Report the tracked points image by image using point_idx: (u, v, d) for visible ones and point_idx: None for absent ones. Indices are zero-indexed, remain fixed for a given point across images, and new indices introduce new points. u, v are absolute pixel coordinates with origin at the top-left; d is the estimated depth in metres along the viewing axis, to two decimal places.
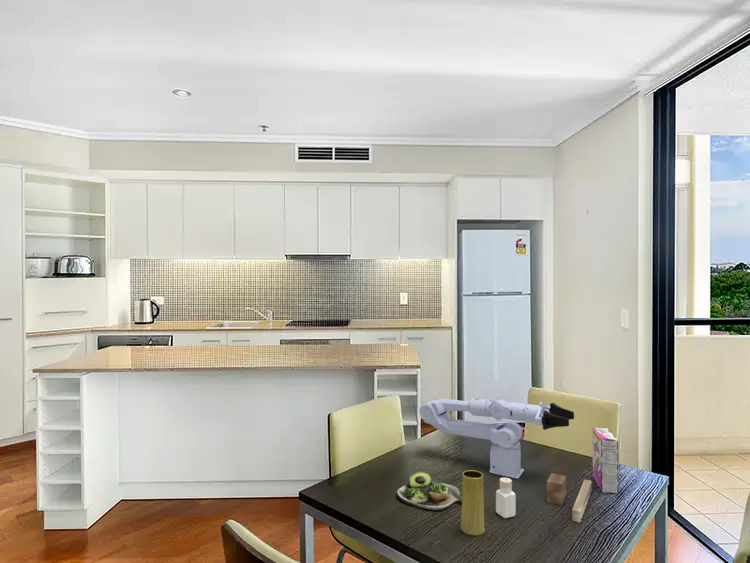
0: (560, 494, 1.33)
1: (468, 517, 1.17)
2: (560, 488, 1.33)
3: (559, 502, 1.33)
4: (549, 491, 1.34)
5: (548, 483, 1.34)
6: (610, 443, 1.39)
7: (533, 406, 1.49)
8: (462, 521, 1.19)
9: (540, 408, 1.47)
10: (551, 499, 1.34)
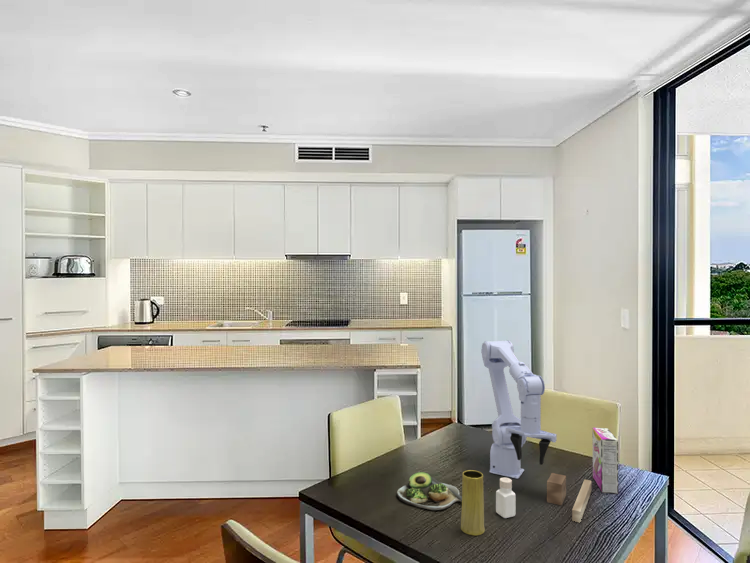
0: (560, 494, 1.33)
1: (468, 517, 1.17)
2: (560, 488, 1.33)
3: (559, 502, 1.33)
4: (549, 491, 1.34)
5: (548, 483, 1.34)
6: (610, 443, 1.39)
7: (525, 426, 1.38)
8: (462, 521, 1.19)
9: (522, 433, 1.39)
10: (551, 499, 1.34)
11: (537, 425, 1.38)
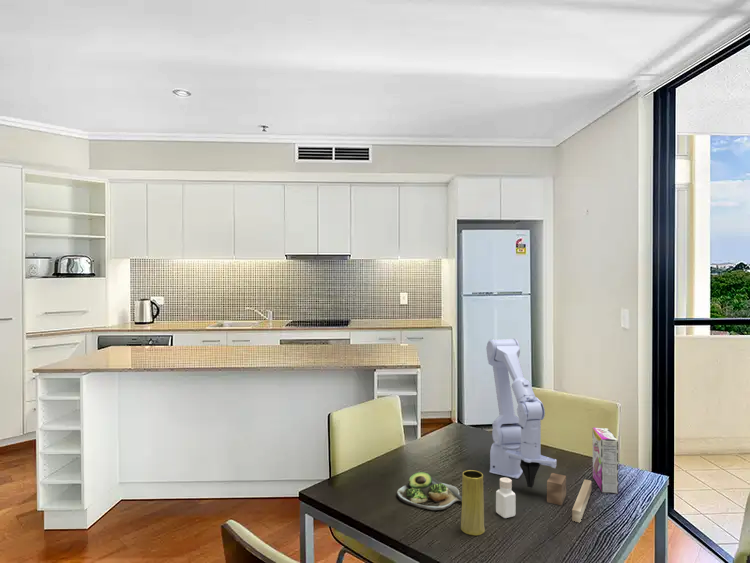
0: (560, 494, 1.33)
1: (468, 517, 1.17)
2: (560, 488, 1.33)
3: (559, 502, 1.33)
4: (549, 491, 1.34)
5: (548, 483, 1.34)
6: (610, 443, 1.39)
7: (525, 451, 1.39)
8: (462, 521, 1.19)
9: (522, 458, 1.39)
10: (551, 499, 1.34)
11: (537, 450, 1.38)
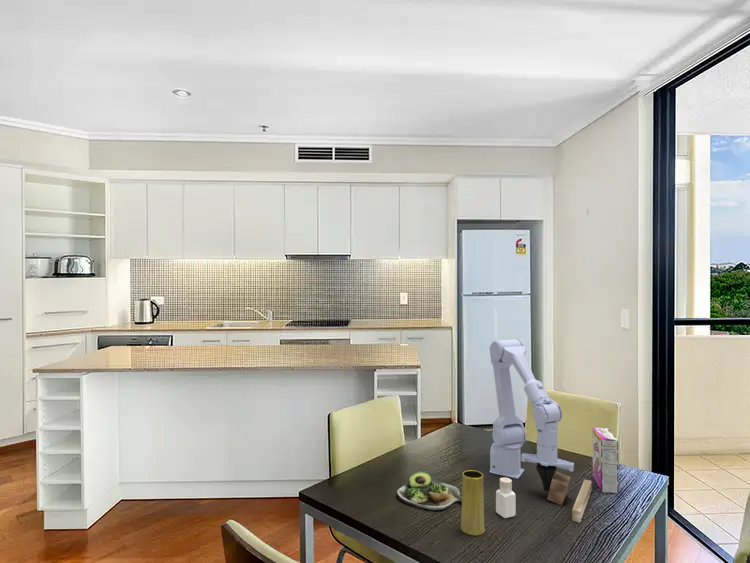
0: (562, 494, 1.32)
1: (468, 517, 1.17)
2: (564, 489, 1.32)
3: (559, 502, 1.33)
4: (552, 490, 1.34)
5: (552, 482, 1.34)
6: (610, 443, 1.39)
7: (541, 454, 1.36)
8: (462, 521, 1.19)
9: (538, 461, 1.37)
10: (552, 497, 1.34)
11: (554, 453, 1.35)
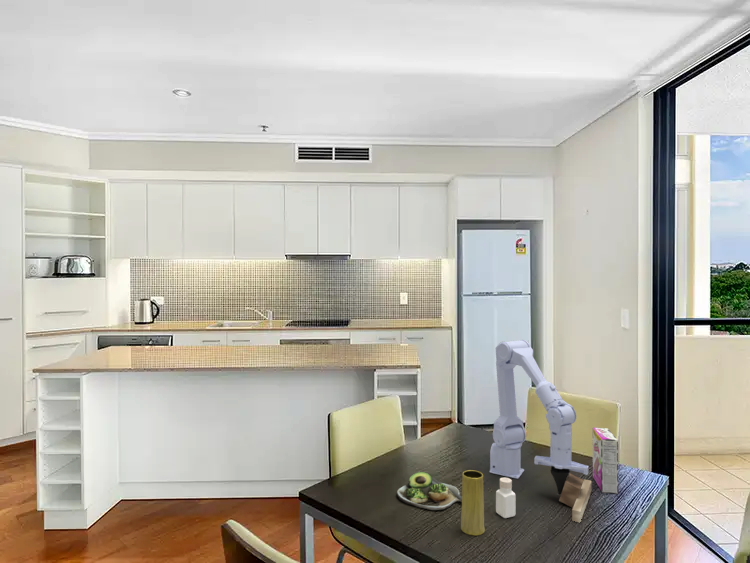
0: (575, 497, 1.30)
1: (468, 517, 1.17)
2: (577, 492, 1.30)
3: (571, 504, 1.31)
4: (565, 492, 1.32)
5: (566, 484, 1.32)
6: (610, 443, 1.39)
7: (555, 457, 1.34)
8: (462, 521, 1.19)
9: (552, 464, 1.35)
10: (564, 499, 1.32)
11: (568, 456, 1.33)
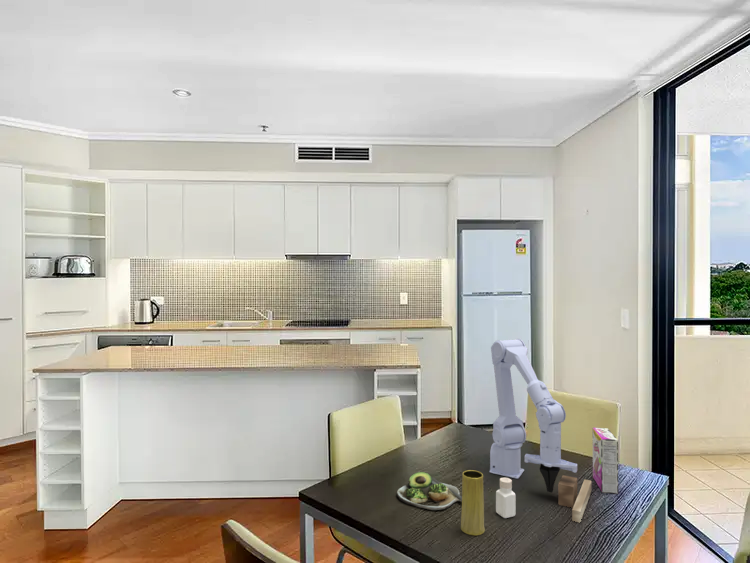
0: (572, 497, 1.31)
1: (468, 517, 1.17)
2: (572, 490, 1.31)
3: (570, 505, 1.31)
4: (561, 494, 1.33)
5: (559, 485, 1.33)
6: (610, 443, 1.39)
7: (545, 455, 1.36)
8: (462, 521, 1.19)
9: (542, 462, 1.36)
10: (563, 502, 1.32)
11: (557, 454, 1.35)
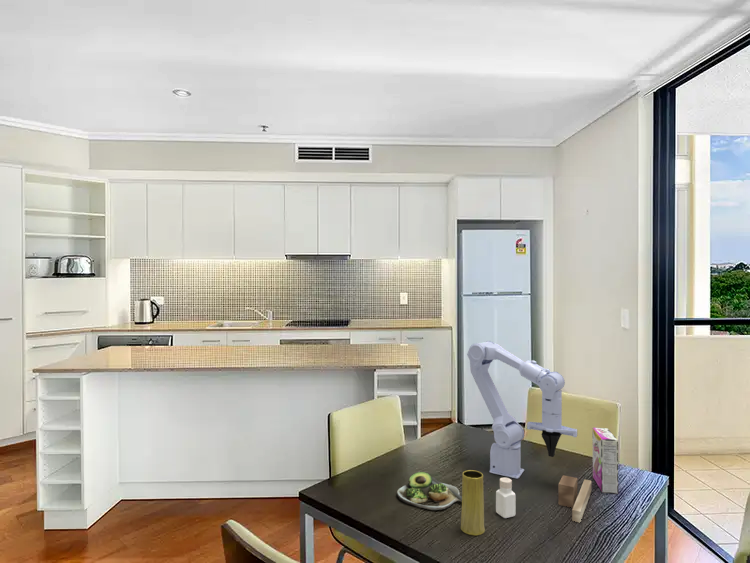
0: (572, 497, 1.31)
1: (468, 517, 1.17)
2: (572, 491, 1.31)
3: (570, 505, 1.31)
4: (561, 494, 1.32)
5: (560, 486, 1.33)
6: (610, 443, 1.39)
7: (546, 421, 1.43)
8: (462, 521, 1.19)
9: (543, 428, 1.43)
10: (563, 502, 1.32)
11: (558, 420, 1.42)
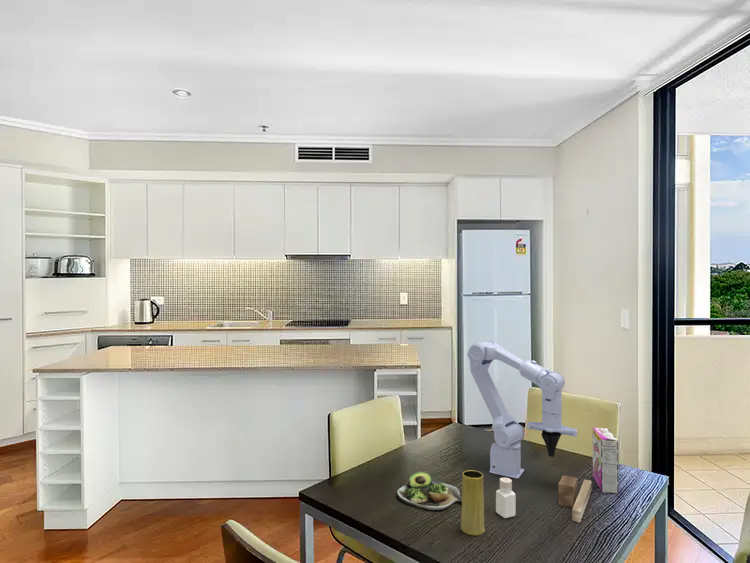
0: (572, 497, 1.31)
1: (468, 517, 1.17)
2: (572, 491, 1.31)
3: (570, 505, 1.31)
4: (561, 494, 1.32)
5: (560, 486, 1.33)
6: (610, 443, 1.39)
7: (546, 421, 1.43)
8: (462, 521, 1.19)
9: (543, 428, 1.43)
10: (563, 502, 1.32)
11: (558, 420, 1.42)
